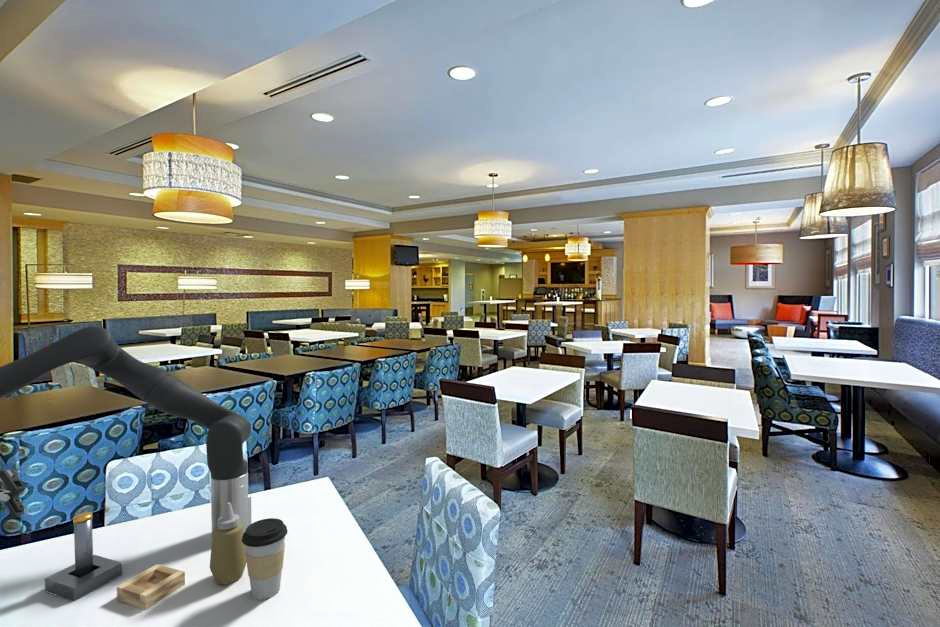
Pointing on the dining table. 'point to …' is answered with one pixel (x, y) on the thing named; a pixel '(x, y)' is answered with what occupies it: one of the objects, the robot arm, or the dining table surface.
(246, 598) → the dining table surface
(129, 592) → the oak tray
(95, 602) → the dining table surface
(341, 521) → the dining table surface
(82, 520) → the steel rod
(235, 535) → the squeeze bottle
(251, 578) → the coffee cup
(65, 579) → the socket block
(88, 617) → the dining table surface
